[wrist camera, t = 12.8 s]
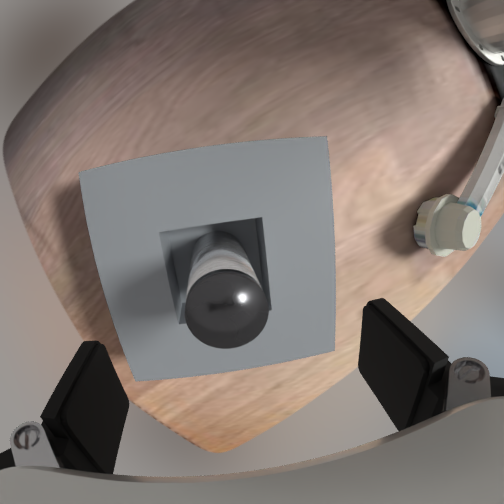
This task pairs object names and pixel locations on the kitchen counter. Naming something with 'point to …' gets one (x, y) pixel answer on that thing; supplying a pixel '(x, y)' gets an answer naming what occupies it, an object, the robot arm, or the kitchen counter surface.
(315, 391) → the kitchen counter surface
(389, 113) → the kitchen counter surface
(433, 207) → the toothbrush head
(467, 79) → the kitchen counter surface
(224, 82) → the kitchen counter surface
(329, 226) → the socket block
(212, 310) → the cylinder
